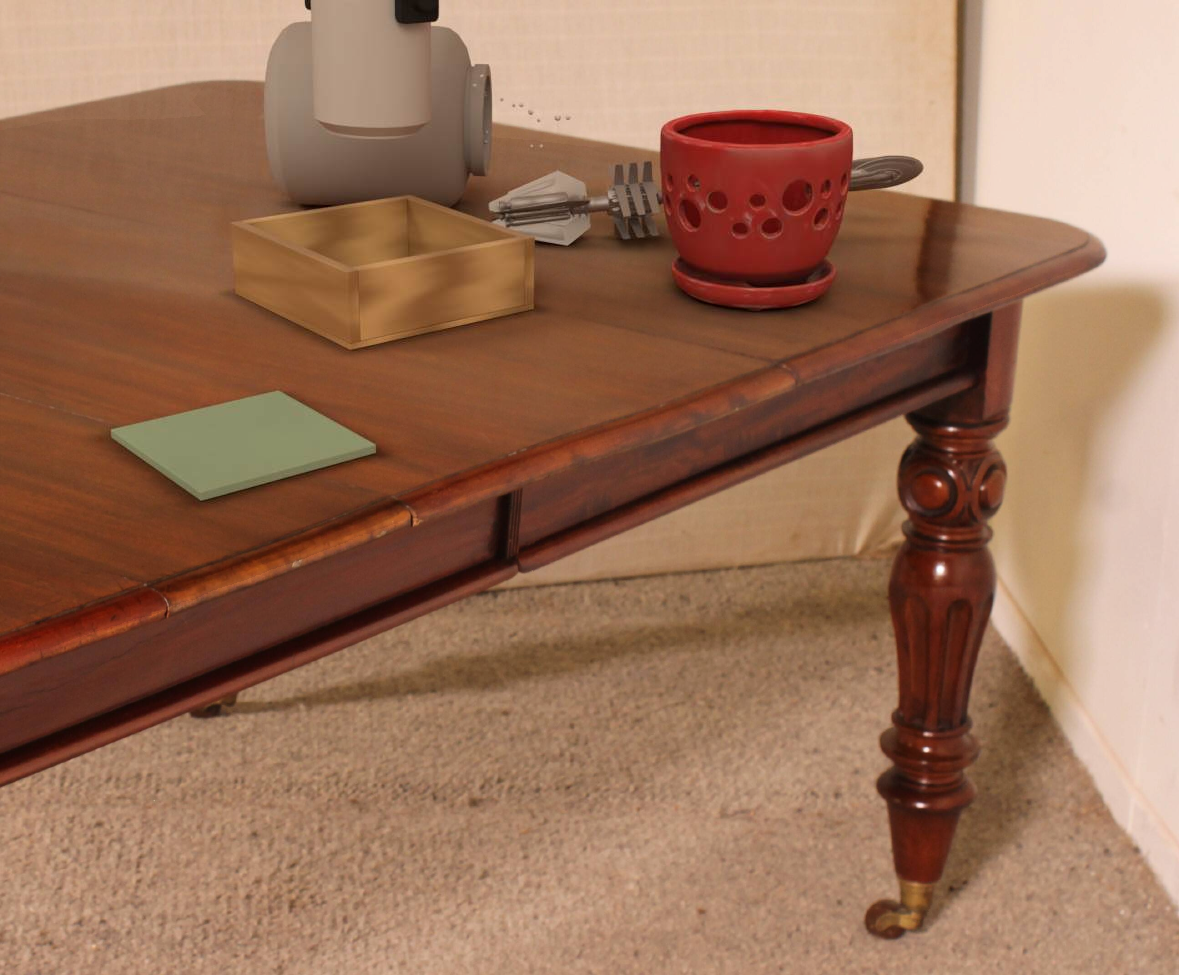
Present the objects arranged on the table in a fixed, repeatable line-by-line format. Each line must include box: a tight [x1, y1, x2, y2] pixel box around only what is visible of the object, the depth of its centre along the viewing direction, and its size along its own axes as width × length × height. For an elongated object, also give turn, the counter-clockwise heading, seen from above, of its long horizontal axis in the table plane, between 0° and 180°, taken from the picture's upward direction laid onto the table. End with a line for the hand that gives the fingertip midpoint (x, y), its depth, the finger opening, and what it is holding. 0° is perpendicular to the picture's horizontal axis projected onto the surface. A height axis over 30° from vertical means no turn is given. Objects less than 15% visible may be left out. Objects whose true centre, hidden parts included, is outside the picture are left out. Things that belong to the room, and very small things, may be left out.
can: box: [310, 0, 432, 140], centre depth 94 cm, size 8×8×12 cm
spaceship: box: [488, 155, 924, 247], centre depth 118 cm, size 8×35×8 cm
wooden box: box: [230, 195, 536, 351], centre depth 101 cm, size 15×15×5 cm
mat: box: [110, 390, 377, 502], centre depth 78 cm, size 10×10×1 cm
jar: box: [263, 21, 572, 208], centre depth 124 cm, size 19×15×25 cm
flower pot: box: [659, 109, 854, 312], centre depth 104 cm, size 13×13×12 cm
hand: (370, 13), depth 94 cm, fingers closed on can, 7 cm apart
